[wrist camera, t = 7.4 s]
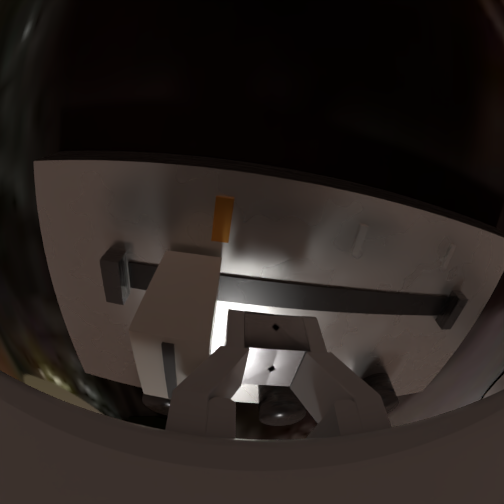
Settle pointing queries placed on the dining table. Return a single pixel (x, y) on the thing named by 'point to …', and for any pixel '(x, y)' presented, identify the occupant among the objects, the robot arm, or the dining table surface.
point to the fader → (175, 321)
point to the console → (264, 262)
